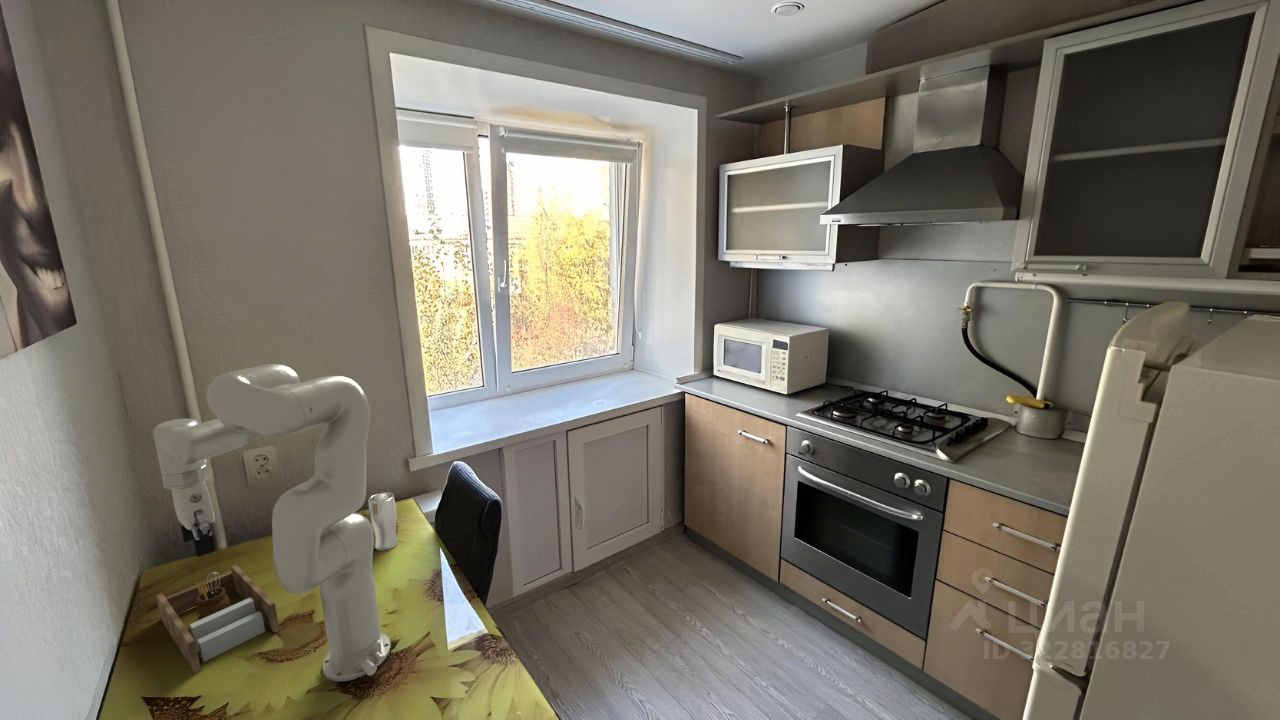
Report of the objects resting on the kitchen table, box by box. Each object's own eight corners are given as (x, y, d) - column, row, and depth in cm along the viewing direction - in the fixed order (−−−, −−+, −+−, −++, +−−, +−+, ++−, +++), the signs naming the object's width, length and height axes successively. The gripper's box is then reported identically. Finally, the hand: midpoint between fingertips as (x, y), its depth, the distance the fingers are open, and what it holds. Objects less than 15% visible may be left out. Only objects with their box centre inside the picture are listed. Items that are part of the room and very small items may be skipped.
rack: (279, 630, 116) (274, 603, 115) (195, 673, 104) (188, 643, 103) (238, 586, 132) (233, 562, 131) (160, 619, 120) (154, 592, 119)
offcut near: (258, 623, 119) (253, 600, 118) (197, 652, 110) (192, 628, 109) (254, 620, 120) (250, 597, 119) (194, 648, 111) (189, 624, 110)
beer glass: (405, 542, 152) (399, 495, 149) (382, 554, 146) (376, 505, 143) (391, 536, 155) (385, 490, 152) (368, 547, 149) (362, 499, 146)
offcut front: (265, 632, 116) (262, 614, 115) (203, 662, 108) (199, 643, 107) (262, 628, 117) (258, 611, 116) (201, 658, 109) (197, 639, 108)
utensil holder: (236, 609, 124) (228, 564, 121) (225, 627, 118) (215, 580, 115) (207, 615, 122) (197, 569, 119) (193, 633, 116) (183, 585, 114)
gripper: (219, 479, 111) (232, 551, 114) (196, 460, 121) (208, 527, 124) (174, 492, 105) (189, 568, 108) (153, 471, 115) (167, 541, 118)
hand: (199, 546), depth 116 cm, fingers open, 9 cm apart
